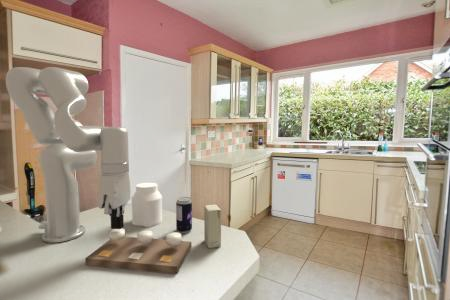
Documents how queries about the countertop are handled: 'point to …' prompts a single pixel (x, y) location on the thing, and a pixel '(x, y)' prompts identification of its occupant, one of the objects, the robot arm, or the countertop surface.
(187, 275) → the countertop surface
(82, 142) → the robot arm
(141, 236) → the button middle
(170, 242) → the button right
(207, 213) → the skincare box
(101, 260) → the button board
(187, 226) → the beverage can
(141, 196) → the jar
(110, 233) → the button left
